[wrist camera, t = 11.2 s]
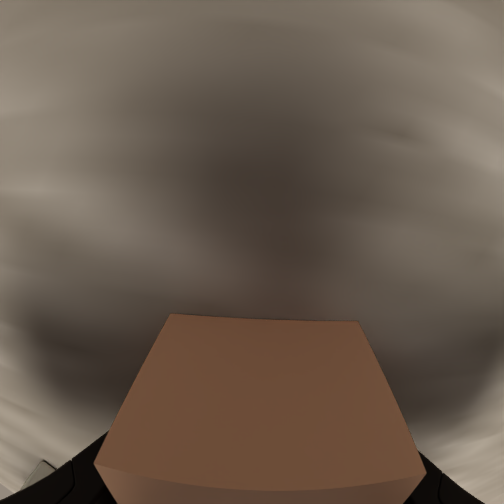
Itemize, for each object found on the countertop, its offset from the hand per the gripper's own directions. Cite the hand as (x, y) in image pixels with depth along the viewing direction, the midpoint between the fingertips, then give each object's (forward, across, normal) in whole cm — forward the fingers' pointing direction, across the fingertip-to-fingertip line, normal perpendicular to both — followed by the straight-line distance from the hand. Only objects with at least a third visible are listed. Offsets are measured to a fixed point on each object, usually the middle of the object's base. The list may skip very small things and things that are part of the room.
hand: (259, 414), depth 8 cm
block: (+1, 0, 0) cm, 1 cm away
